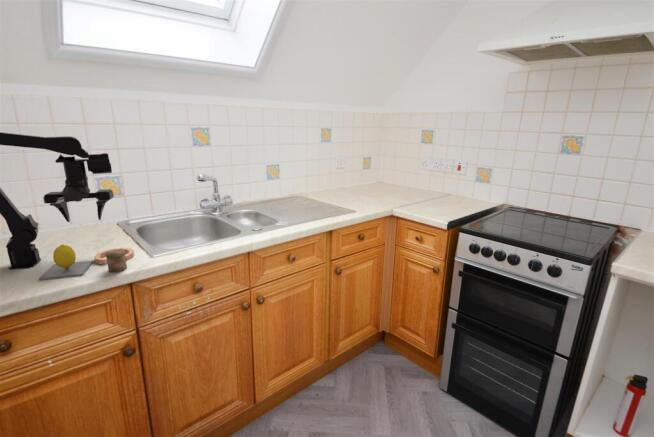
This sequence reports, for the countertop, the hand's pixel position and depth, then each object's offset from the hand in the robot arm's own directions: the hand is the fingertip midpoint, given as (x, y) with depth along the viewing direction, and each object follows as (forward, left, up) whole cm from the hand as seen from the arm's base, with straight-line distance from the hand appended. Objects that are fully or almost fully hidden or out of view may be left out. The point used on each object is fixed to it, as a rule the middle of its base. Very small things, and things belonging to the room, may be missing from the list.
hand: (84, 220), depth 121 cm
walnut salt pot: (+12, -18, -12) cm, 25 cm away
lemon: (-3, -14, -12) cm, 19 cm away
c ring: (+9, -7, -12) cm, 17 cm away
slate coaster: (-2, -14, -12) cm, 19 cm away
